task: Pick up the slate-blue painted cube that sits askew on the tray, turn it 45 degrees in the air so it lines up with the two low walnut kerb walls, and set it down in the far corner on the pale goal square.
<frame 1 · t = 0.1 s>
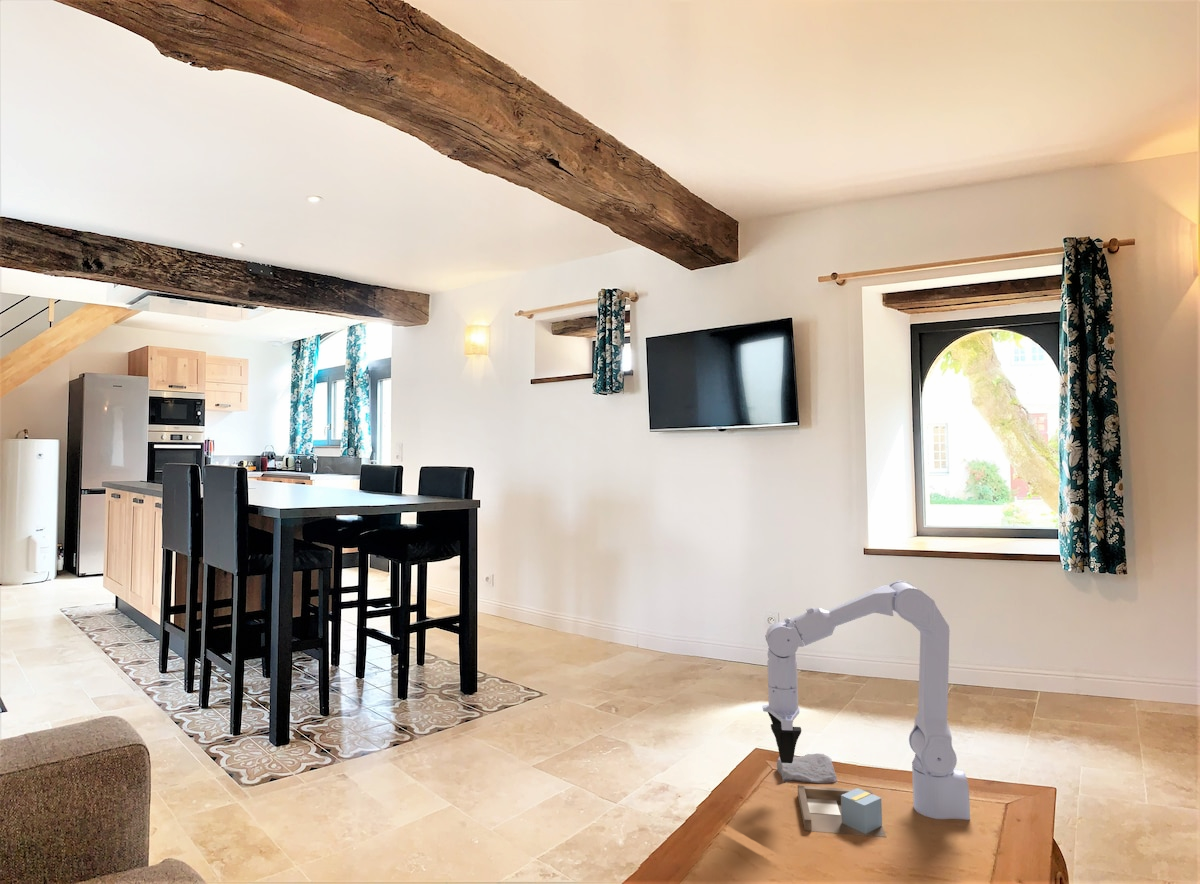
hand: (784, 754, 140), 10 cm above the table, fingers open, 7 cm apart
tray: (839, 821, 133), on the table
cube: (861, 824, 129), point 1 cm above the table, touching tray
stone block: (807, 781, 152), on the table
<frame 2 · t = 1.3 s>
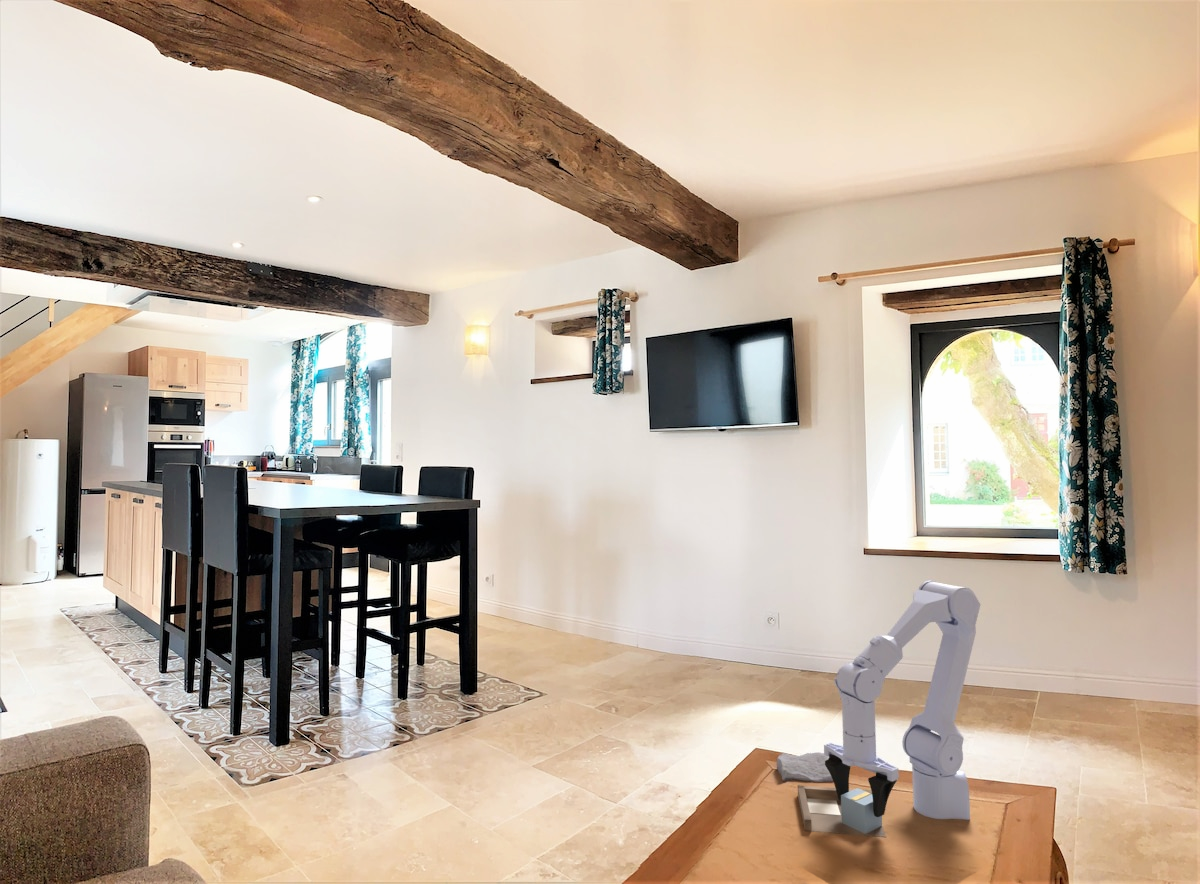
hand: (860, 806, 130), 4 cm above the table, fingers open, 7 cm apart
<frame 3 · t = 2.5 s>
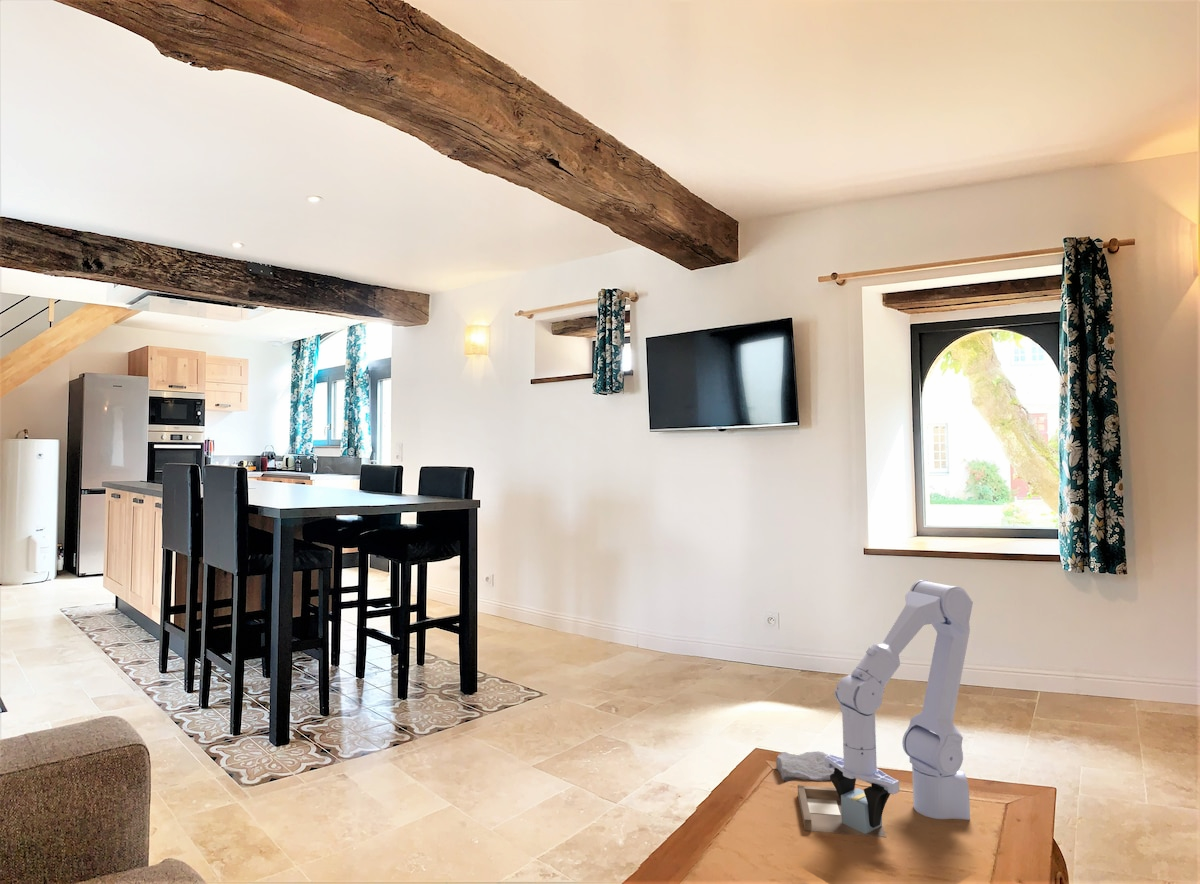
hand: (861, 819, 129), 2 cm above the table, fingers closed on cube, 5 cm apart
cube: (861, 824, 129), point 1 cm above the table, touching tray, gripper
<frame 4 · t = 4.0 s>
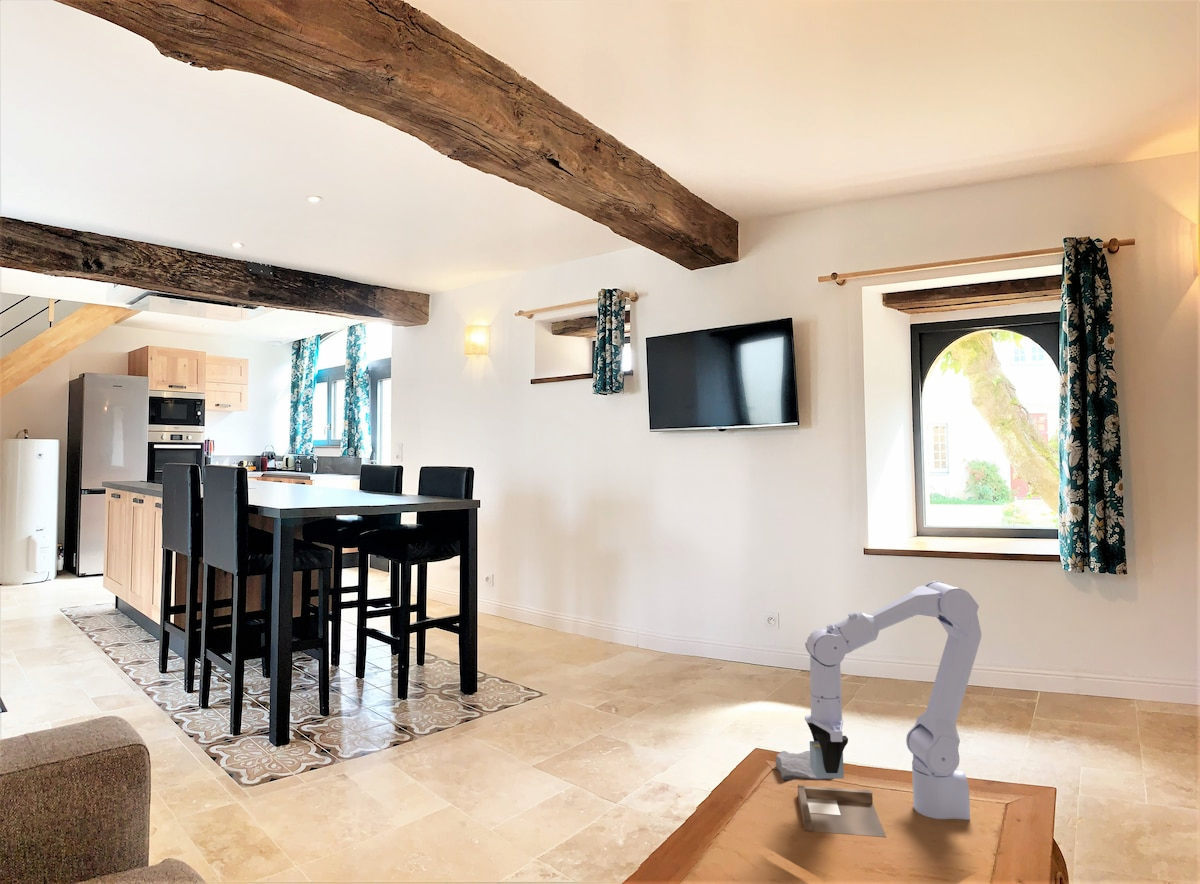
hand: (827, 766, 135), 9 cm above the table, fingers closed on cube, 5 cm apart
cube: (826, 772, 135), point 8 cm above the table, touching gripper
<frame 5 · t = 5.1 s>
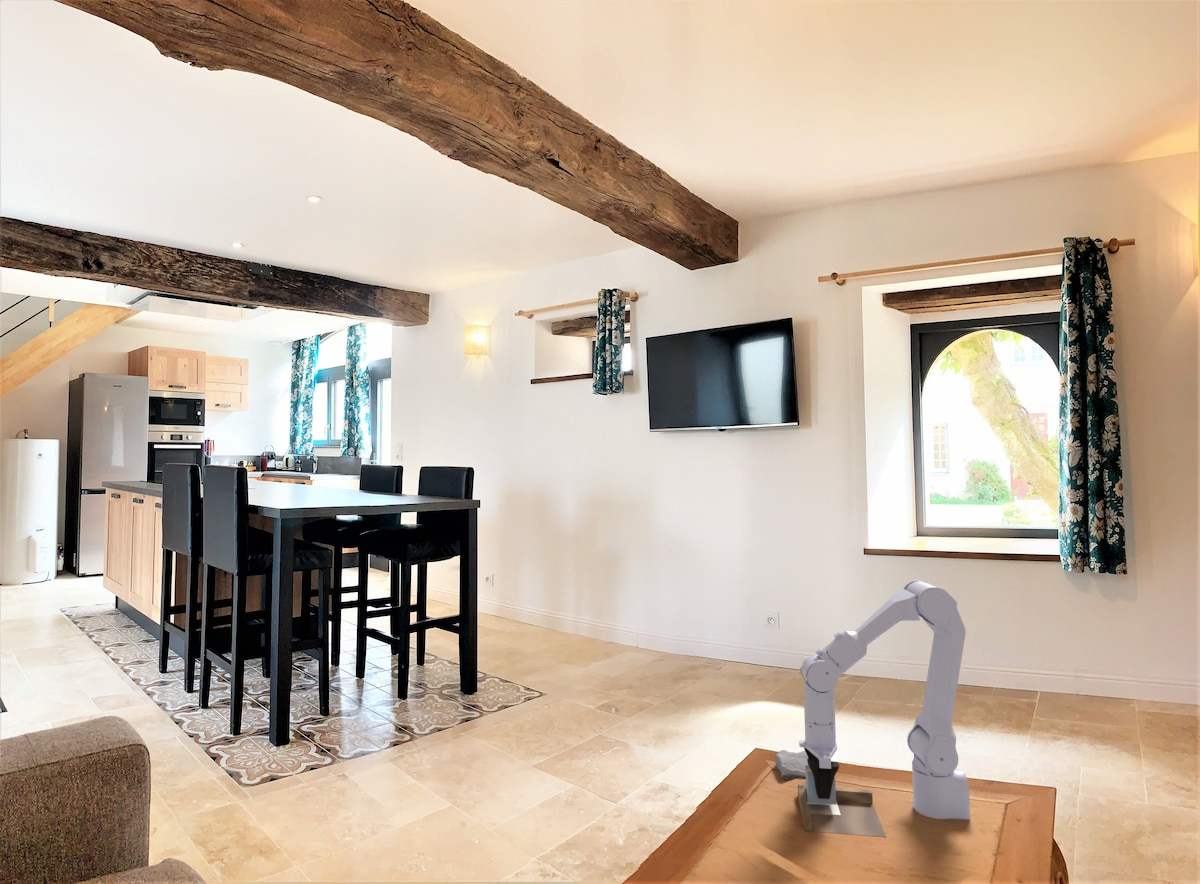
hand: (821, 791, 136), 4 cm above the table, fingers closed on cube, 5 cm apart
cube: (820, 797, 136), point 3 cm above the table, touching gripper
when the fingers open (4 cm above the table, at t = 5.7 s): cube drops 1 cm, resting on tray.
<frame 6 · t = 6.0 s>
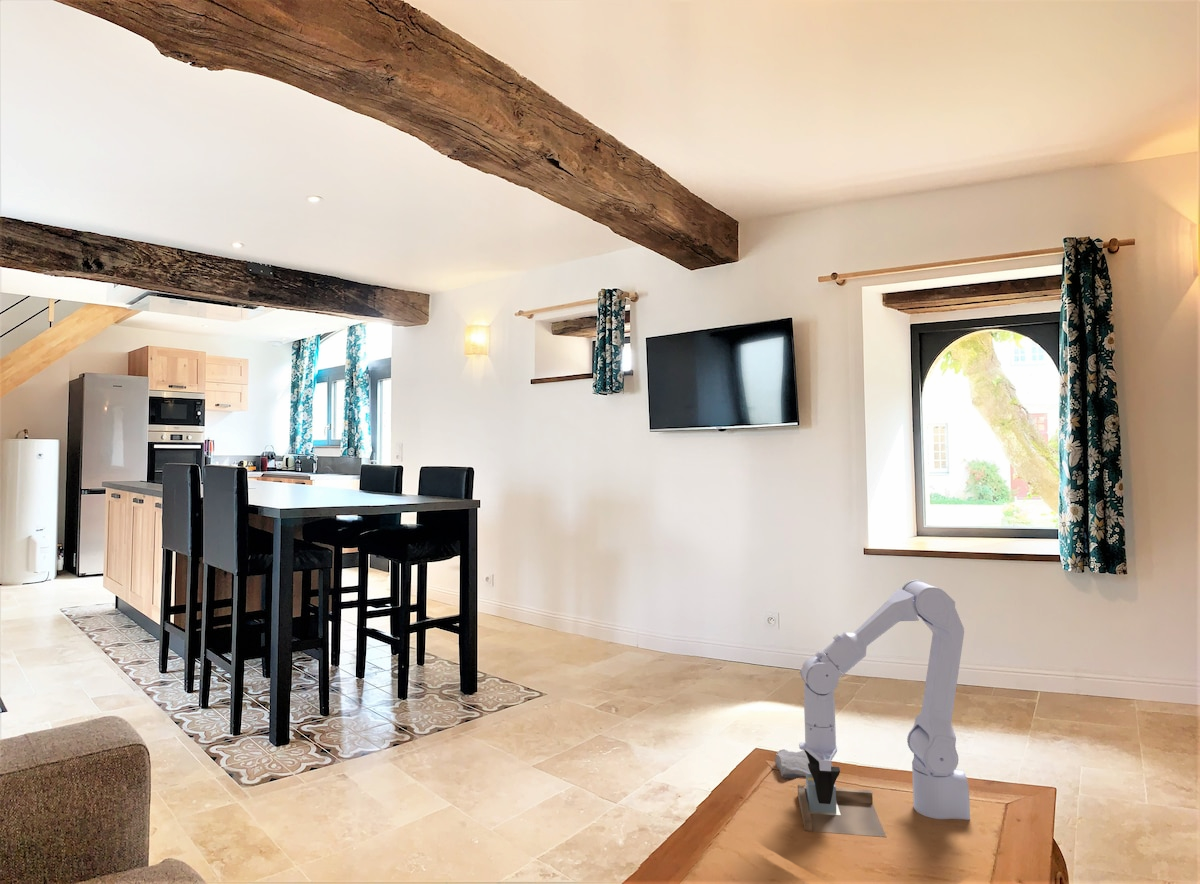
hand: (821, 793, 136), 4 cm above the table, fingers open, 7 cm apart
cube: (821, 806, 136), point 1 cm above the table, touching tray
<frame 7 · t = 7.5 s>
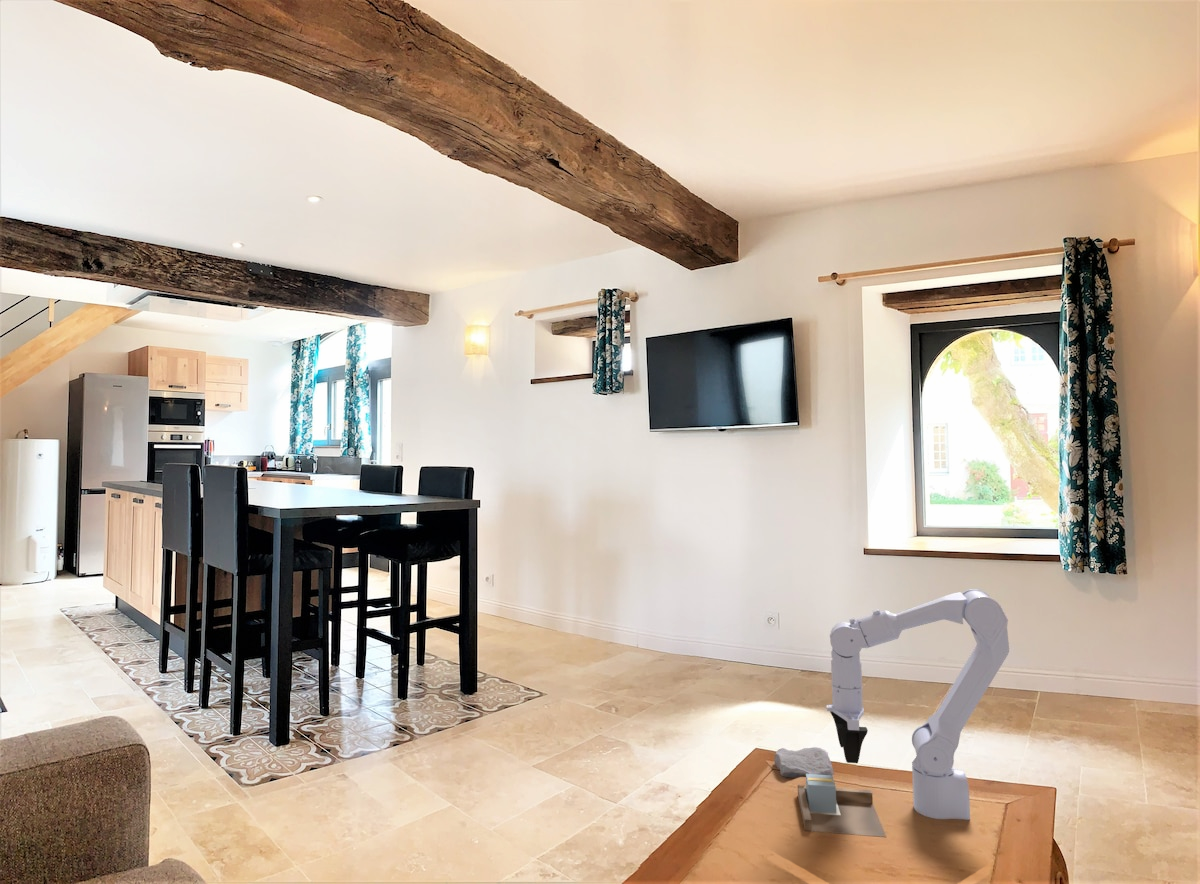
hand: (848, 754, 140), 10 cm above the table, fingers open, 7 cm apart
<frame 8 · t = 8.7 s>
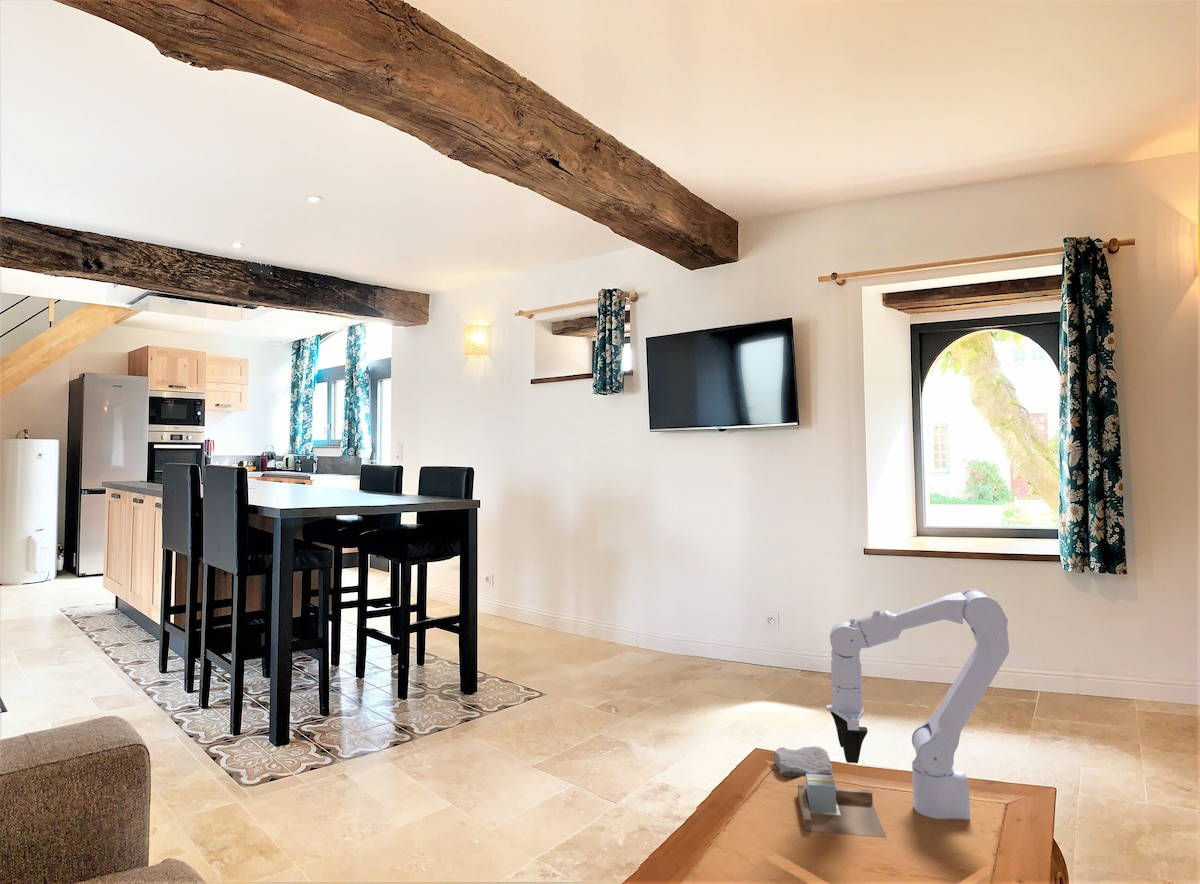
hand: (848, 754, 140), 10 cm above the table, fingers open, 7 cm apart
at the end: cube 0.1 cm from the target spot, point 1.3 cm above the table; cube tilted 0°; the gripper is holding nothing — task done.
